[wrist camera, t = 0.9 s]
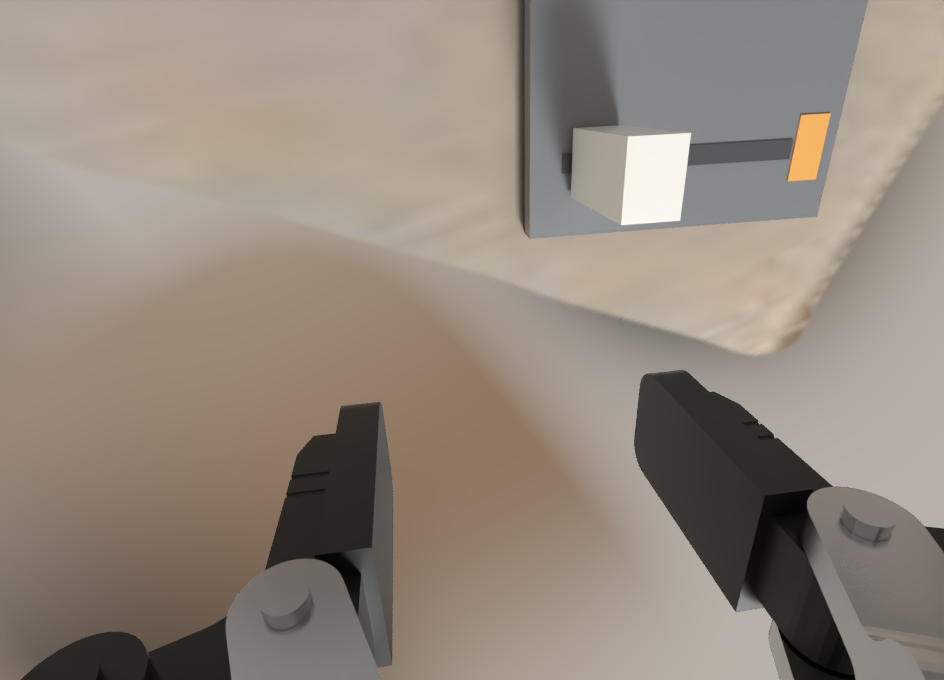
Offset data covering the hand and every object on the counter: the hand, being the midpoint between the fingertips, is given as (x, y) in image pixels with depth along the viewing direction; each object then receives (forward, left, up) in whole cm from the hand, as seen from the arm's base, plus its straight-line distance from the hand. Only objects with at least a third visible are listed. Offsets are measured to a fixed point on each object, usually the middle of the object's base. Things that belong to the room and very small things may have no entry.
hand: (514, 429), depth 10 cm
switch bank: (-8, +16, -26) cm, 31 cm away
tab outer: (-2, +10, -24) cm, 26 cm away
